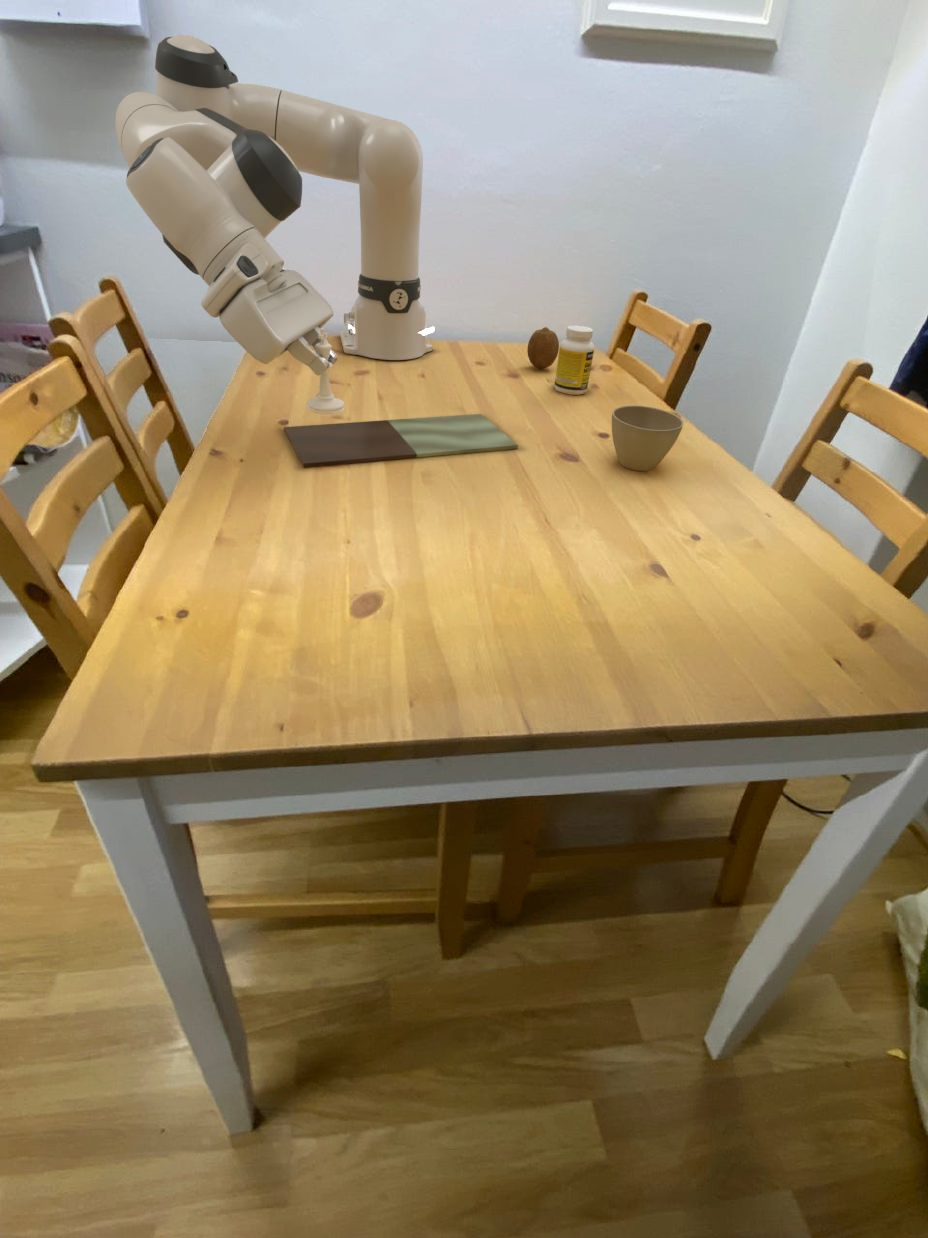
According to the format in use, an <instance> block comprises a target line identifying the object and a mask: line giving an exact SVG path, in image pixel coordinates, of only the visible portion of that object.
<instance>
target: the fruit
mask: <svg viewBox="0 0 928 1238" xmlns="http://www.w3.org/2000/svg"><path fill="white" fill-rule="evenodd" d="M559 342H560V341H559V338H558V335H557V334H556V332H555V331H553V330H550V329H549V328H548V327H547V326H545V327H543V328H542V329H536V330H535V331H534V332H533V333H532V335H531V336H530V338H529V341H528V343H527V357H528V360H529V362H530V364H531V365H532V366H533V367H535V368H536V369H538V370H545V369H547V368H549V367H551V366H552V365H553V364H554V362H555V361H556V359H557V358H558V356H559V350H560V343H559Z"/></svg>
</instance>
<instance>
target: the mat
mask: <svg viewBox="0 0 928 1238" xmlns="http://www.w3.org/2000/svg"><path fill="white" fill-rule="evenodd" d="M283 432H284V434H285V435H286V437H287V439H288V441H289V444H290V445H291V447H292V449H293V451H294V452H295V454H296V456H297V458H298V459H299V462H300V464H301V465H302V467H303V468H314V467H325V466H337V465H349V464H350V465H351V464H359V463H360V464H361V463H371V462H372V463H373V462H381V461H382V462H383V461H393V460H394V461H395V460H405V459H416V458H427V457H428V458H429V457H440V456H450V455H451V456H452V455H462V454H472V453H485V452H494V451H496V452H497V451H506V450H507V451H508V450H518V448H519V444H517V443H516V442H515V441H514V440H513V439H511V438H510V437H509V435H507V434H505V433H504V432H503V431H502V430H501V429H499V428H498V427H497V426H496V425H495V424H493V423H492V422H491V421H490V420H489V419H488V418H486V417H485V416H484V415H483V414H481V413H474V414H457V415H443V416H430V417H415V418H414V417H413V418H412V417H411V418H400V419H399V418H398V419H385V420H384V419H383V420H370V421H355V422H354V421H353V422H339V423H326V424H325V423H324V424H312V425H311V424H310V425H295V426H284V427H283Z"/></svg>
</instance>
